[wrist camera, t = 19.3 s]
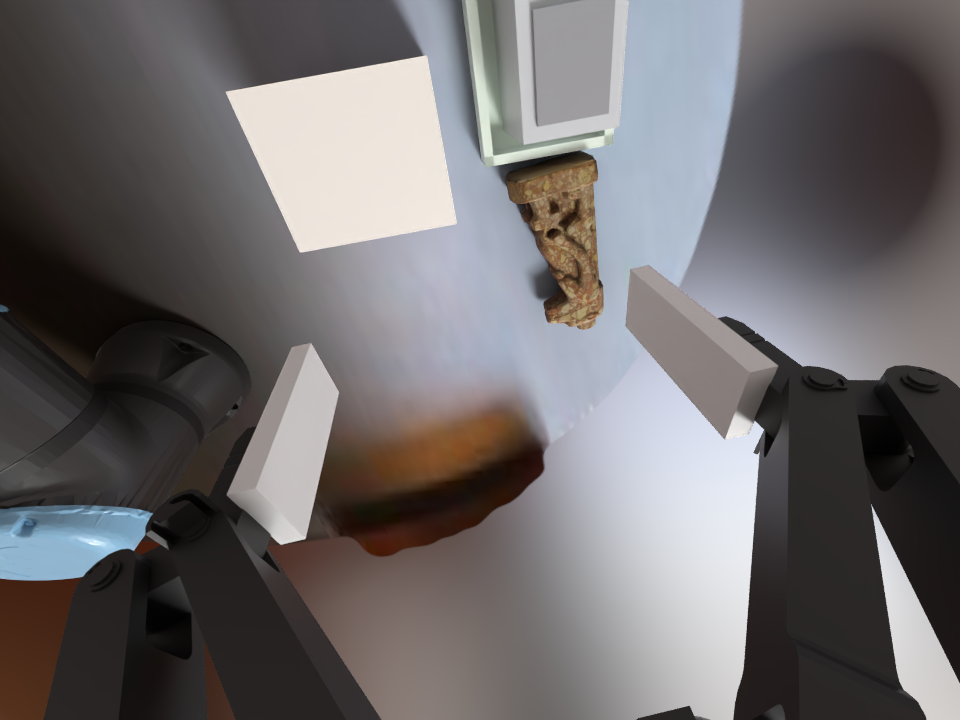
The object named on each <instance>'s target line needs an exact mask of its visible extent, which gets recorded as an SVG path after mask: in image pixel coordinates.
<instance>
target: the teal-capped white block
mask: <svg viewBox="0 0 960 720" xmlns="http://www.w3.org/2000/svg"><path fill="white" fill-rule="evenodd" d="M491 2H492V12H493V23H494V34H495V45H496V56H497V67H498V78H499V89H500V100H501V110H502V121H503V130H504V131H505V132H506V133H508V134H509V135H511V136H512V137H513V138H515V139H516V140H517V141H519V142H520V143H522V144H523V145H526V144H532V143H537V142H542V141H548V140H553V139H558V138H563V137H569V136H574V135H579V134H585V133H590V132H595V131H601V130H606V129H611V128H617V127H619V123H620V110H621V97H622V83H623V70H624V57H625V44H626V30H627V17H628V4H629V0H491Z"/></svg>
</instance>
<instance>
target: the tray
mask: <svg viewBox="0 0 960 720" xmlns="http://www.w3.org/2000/svg"><path fill="white" fill-rule="evenodd" d="M462 8H463V16H464V24H465V32H466V40H467V48H468V56H469V64H470V72H471V80H472V88H473V96H474V104H475V112H476V120H477V128H478V136H479V145H480V153H481V161H482V163H483V164H484V166H485V167H491V166H497V165H502V164H508V163H513V162H519V161H524V160H530V159H535V158H540V157H546V156H551V155H557V154H562V153H568V152H573V151H579V150H584V149H590V148H595V147H601V146H606V145H612V144H613V132H614V128H611V129H606V130H601V131H595V132H590V133H585V134H579V135H574V136H569V137H563V138H558V139H553V140H548V141H542V142H537V143H532V144H526V145H523V144H522V143H520V142H519V141H517V140H516V139H515V138H513V137H512V136H511V135H509V134H508V133H506V132H505V131H504V130H503V121H502V110H501V100H500V89H499V78H498V67H497V56H496V45H495V34H494V23H493V12H492V2H491V0H462Z"/></svg>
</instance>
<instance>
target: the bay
mask: <svg viewBox="0 0 960 720" xmlns="http://www.w3.org/2000/svg"><path fill="white" fill-rule="evenodd" d="M226 94H227V96H228V98H229V100H230V102H231V105H232V107H233V109H234V111H235V113H236V115H237V118H238V120H239V122H240V124H241V126H242V128H243V131H244V133H245V135H246V137H247V139H248V141H249V143H250V146H251V148H252V150H253V152H254V154H255V156H256V159H257V161H258V163H259V165H260V167H261V169H262V172H263V174H264V176H265V178H266V180H267V182H268V185H269V187H270V189H271V191H272V193H273V195H274V197H275V200H276V202H277V204H278V206H279V208H280V210H281V213H282V215H283V217H284V219H285V221H286V223H287V226H288V228H289V230H290V232H291V234H292V236H293V238H294V241H295V243H296V245H297V247H298V249H299V251H300V253H301V252H307V251H312V250H318V249H323V248H329V247H334V246H339V245H345V244H350V243H356V242H361V241H367V240H372V239H378V238H383V237H389V236H394V235H400V234H405V233H411V232H416V231H422V230H427V229H433V228H438V227H443V226H449V225H454V224H457V221H456V216H455V210H454V205H453V199H452V193H451V188H450V182H449V177H448V171H447V166H446V160H445V154H444V149H443V143H442V138H441V132H440V126H439V121H438V115H437V110H436V104H435V98H434V93H433V87H432V82H431V76H430V70H429V65H428V59H427V55H426V56H421V57H415V58H410V59H404V60H399V61H393V62H388V63H382V64H377V65H371V66H366V67H360V68H355V69H349V70H343V71H338V72H332V73H327V74H321V75H316V76H310V77H305V78H299V79H294V80H288V81H283V82H277V83H272V84H266V85H261V86H255V87H250V88H244V89H239V90H233V91H228V92H226Z"/></svg>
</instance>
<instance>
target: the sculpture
mask: <svg viewBox="0 0 960 720" xmlns="http://www.w3.org/2000/svg"><path fill="white" fill-rule="evenodd" d="M597 179H598V170H597V163H596V160H595V159H594V158H593V156H591V155H589V154H587V153H585V152H582V151H579V152H575V153H572V154H568V155H565V156H561V157H558V158H554V159H551V160H548V161H545V162H541V163H538V164H535V165H531V166H528V167H525V168H521V169H518V170H514V171H511V172H509V173H508V174H507V176H506V183H507V189H508V194H509V198H510V200H511V201H512V202H513V203H517V204H524V203H525V204H526V208H525V209H523V210H522V211H521V215H522V218H523V220H524V222H527V223H529V225H530V228H531V230H532V232H533V233H534V234H535V236H536V245H537V247H538V249H539V251H540V252H541V254H542V255H543V256H544V257H545V258H546V260H547V261H548V262H549V269H550V270H551V274H552V275H553V276H554V278H555V279H556V280H557V281H558V284H559V285H560V287H561V288H562V290H561V291H560V292H558V293H557V294H556V295H554V296H553V297H551V298H549V299H548V300H546V301H545V302H544V309H545V315H546V319H547V322H548V323H565V324H567V325H568V326H569V327H573V326H577V327H578V328H579V329H589V328H591V327H592V326H594V325H595V318H597V317H598V316H599V315H601V313H602V312H603V285H602V283H601V281H600V280H599V272H598V257H597V239H596V222H595V208H594V190H593V183H595V182H597Z"/></svg>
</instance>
